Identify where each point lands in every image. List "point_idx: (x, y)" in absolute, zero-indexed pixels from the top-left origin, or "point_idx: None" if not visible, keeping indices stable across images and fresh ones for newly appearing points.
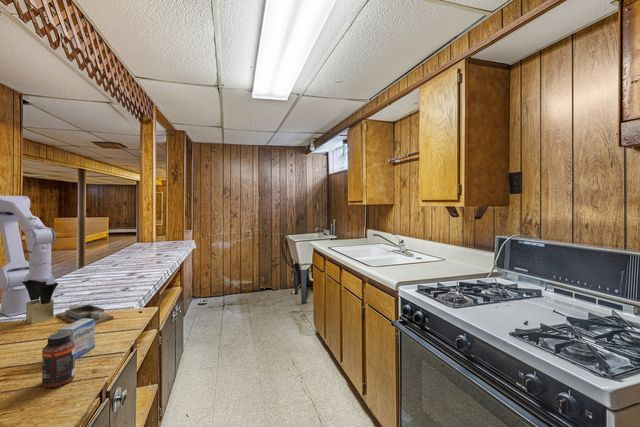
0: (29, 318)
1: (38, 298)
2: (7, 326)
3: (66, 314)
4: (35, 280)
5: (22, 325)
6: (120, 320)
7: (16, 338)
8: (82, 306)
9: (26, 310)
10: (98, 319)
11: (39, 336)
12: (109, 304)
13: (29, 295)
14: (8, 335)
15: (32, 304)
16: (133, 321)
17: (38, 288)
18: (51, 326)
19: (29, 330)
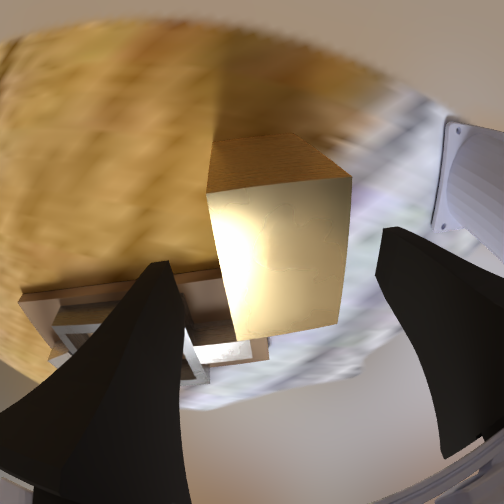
0: (248, 145)
1: (378, 277)
2: (297, 47)
3: None
4: (489, 424)
5: (242, 103)
6: None
7: (39, 67)
8: (194, 366)
9: (312, 152)
10: (56, 341)
11: (6, 154)
12: (250, 395)
13: (426, 247)
14: (110, 30)
15: (208, 199)
16: (36, 370)
17: (25, 420)
18: (100, 212)
19: (109, 118)
